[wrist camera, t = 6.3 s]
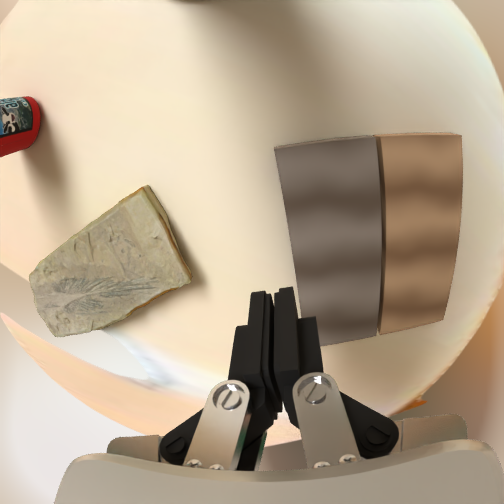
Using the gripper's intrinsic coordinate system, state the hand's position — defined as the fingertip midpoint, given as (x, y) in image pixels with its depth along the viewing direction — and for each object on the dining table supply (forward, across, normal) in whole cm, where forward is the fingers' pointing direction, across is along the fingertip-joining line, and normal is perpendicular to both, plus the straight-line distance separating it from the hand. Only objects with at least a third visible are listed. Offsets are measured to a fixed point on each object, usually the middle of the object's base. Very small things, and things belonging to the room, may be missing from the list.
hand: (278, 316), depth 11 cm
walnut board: (+16, -14, +7) cm, 22 cm away
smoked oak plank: (+16, -5, +7) cm, 18 cm away
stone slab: (+16, +25, +6) cm, 30 cm away
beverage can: (+17, +26, -16) cm, 36 cm away
